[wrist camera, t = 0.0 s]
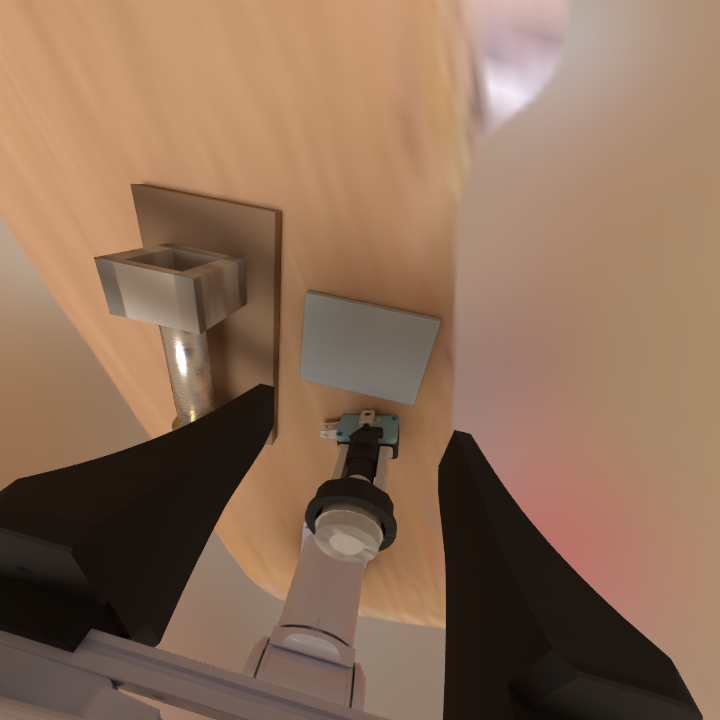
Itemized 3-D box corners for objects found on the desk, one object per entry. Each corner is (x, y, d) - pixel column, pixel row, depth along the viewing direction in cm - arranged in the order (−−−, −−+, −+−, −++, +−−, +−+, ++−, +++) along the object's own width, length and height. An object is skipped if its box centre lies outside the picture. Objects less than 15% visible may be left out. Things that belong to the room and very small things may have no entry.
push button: (329, 444, 27) (287, 562, 18) (319, 395, 24) (266, 506, 16) (403, 447, 26) (396, 576, 17) (401, 397, 23) (392, 518, 14)
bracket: (276, 437, 27) (243, 494, 22) (185, 414, 28) (132, 465, 23) (281, 211, 18) (225, 218, 13) (143, 184, 18) (35, 180, 13)
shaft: (239, 443, 26) (212, 481, 22) (196, 432, 26) (163, 468, 23) (228, 276, 18) (185, 295, 15) (168, 263, 19) (112, 279, 15)
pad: (413, 401, 23) (413, 406, 22) (302, 375, 24) (299, 379, 23) (440, 318, 19) (440, 321, 19) (308, 290, 20) (305, 292, 20)
